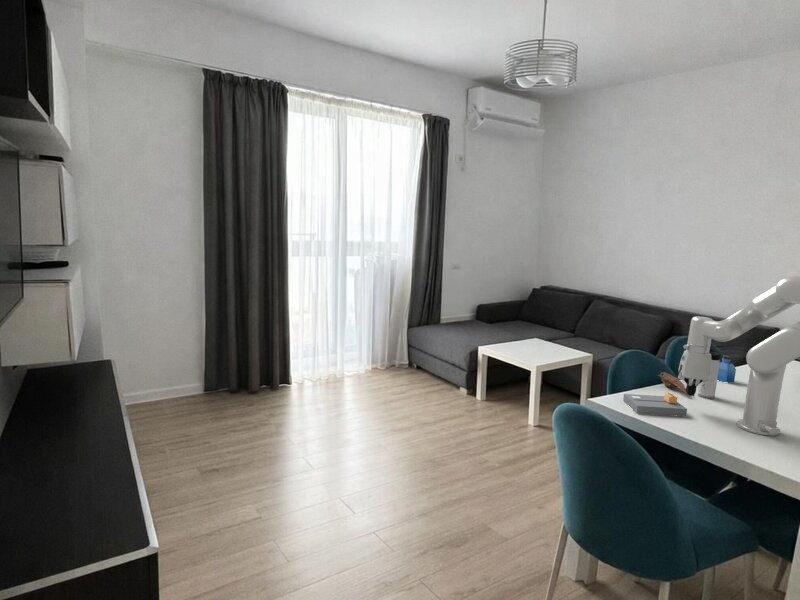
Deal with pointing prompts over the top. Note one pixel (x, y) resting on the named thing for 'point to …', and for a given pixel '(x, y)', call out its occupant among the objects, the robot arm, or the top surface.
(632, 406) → the console
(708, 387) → the travel mug
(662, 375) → the bird sculpture
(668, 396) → the fader knob
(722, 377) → the perfume bottle
